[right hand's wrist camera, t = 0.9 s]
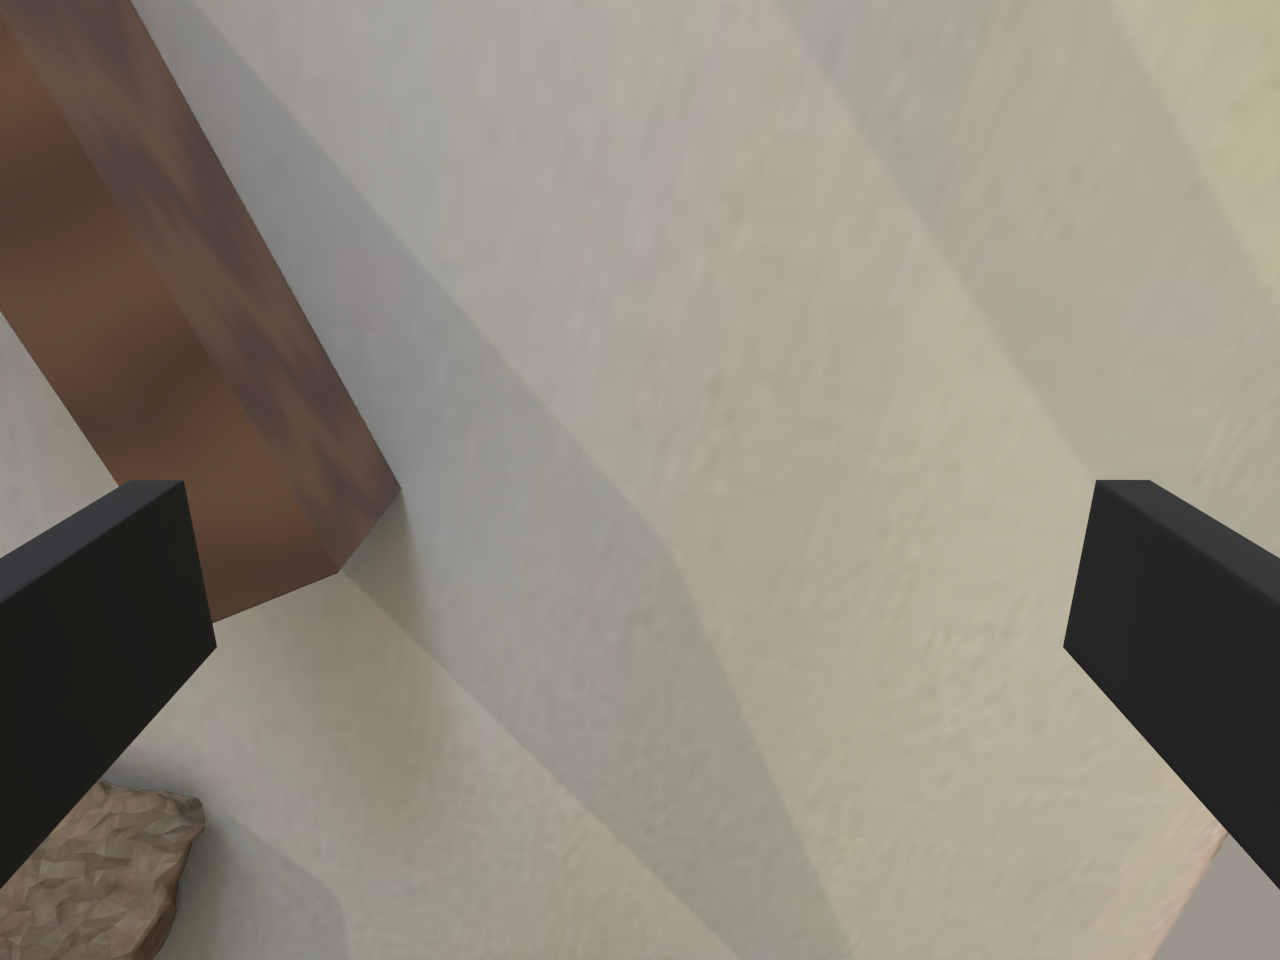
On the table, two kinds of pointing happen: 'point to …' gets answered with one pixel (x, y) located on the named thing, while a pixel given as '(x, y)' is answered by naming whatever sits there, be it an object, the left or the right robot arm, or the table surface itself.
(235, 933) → the table surface
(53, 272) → the walnut beam
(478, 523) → the table surface
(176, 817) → the stone
